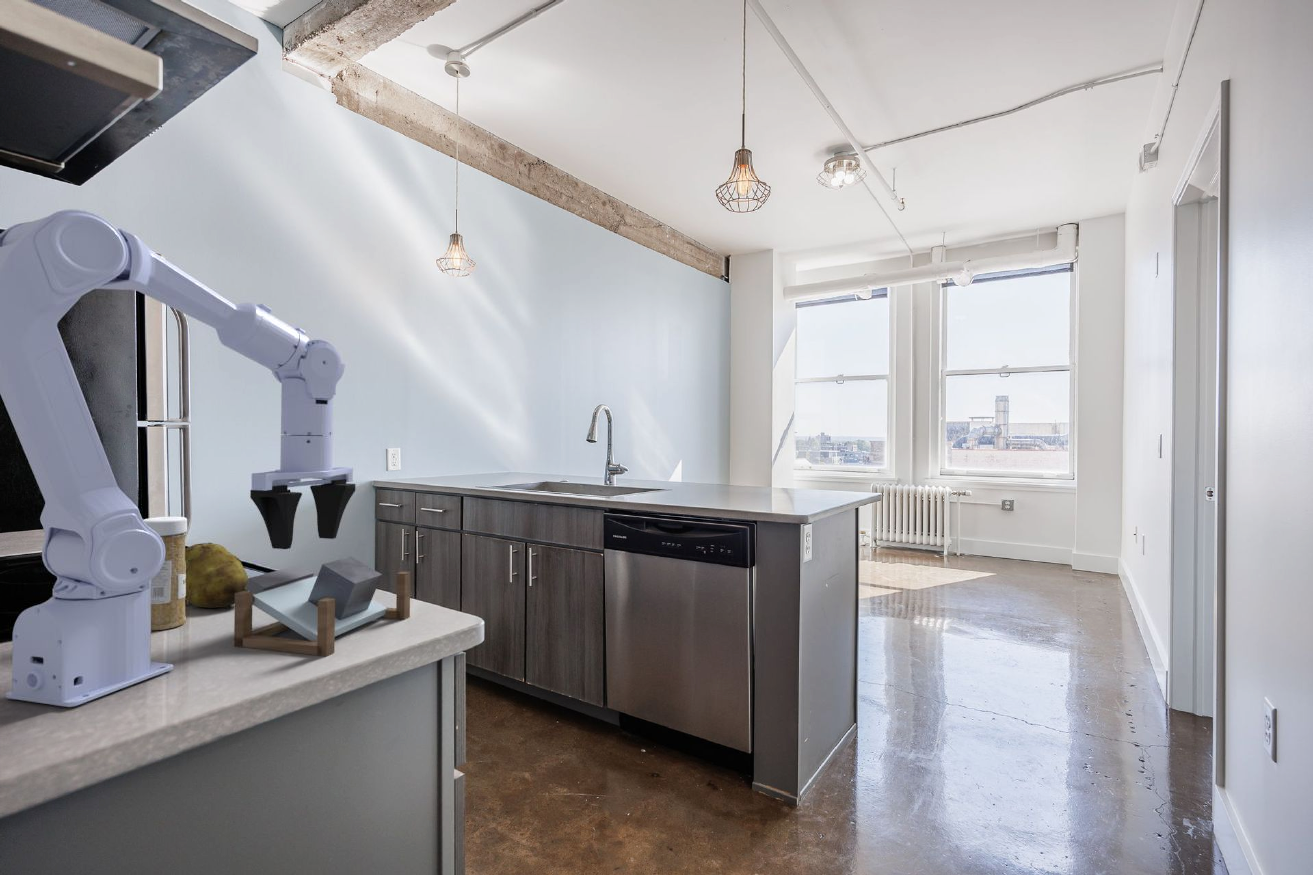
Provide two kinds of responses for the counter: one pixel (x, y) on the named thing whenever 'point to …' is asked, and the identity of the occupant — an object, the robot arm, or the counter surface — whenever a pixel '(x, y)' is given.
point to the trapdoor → (300, 602)
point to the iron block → (346, 586)
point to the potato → (213, 576)
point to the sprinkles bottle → (169, 574)
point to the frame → (324, 631)
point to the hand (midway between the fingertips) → (305, 543)
